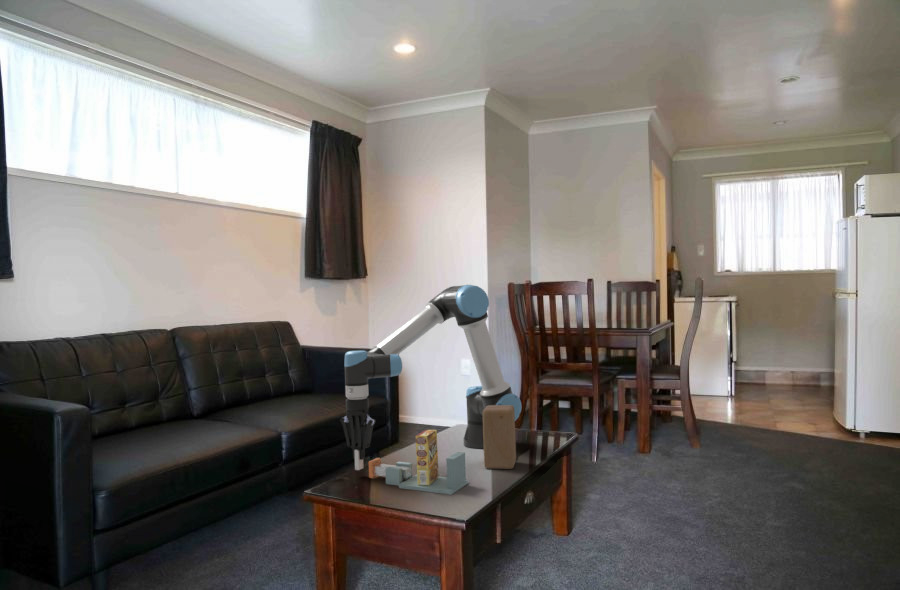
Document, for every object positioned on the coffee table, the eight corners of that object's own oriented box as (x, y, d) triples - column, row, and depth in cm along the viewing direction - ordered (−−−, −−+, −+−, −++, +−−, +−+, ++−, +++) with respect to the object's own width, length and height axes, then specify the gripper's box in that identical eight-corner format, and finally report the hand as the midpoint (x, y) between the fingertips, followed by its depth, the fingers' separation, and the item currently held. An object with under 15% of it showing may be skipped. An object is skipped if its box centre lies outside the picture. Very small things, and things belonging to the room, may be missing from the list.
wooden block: (513, 470, 201) (511, 410, 201) (483, 469, 203) (482, 409, 203) (516, 461, 211) (514, 404, 211) (488, 461, 213) (486, 404, 213)
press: (402, 475, 199) (401, 444, 199) (468, 483, 188) (467, 451, 188) (382, 485, 188) (381, 453, 188) (451, 494, 177) (450, 460, 177)
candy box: (429, 486, 183) (428, 435, 183) (416, 485, 184) (415, 435, 184) (439, 477, 191) (437, 429, 191) (426, 477, 193) (425, 429, 193)
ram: (377, 473, 199) (377, 457, 199) (412, 477, 193) (412, 461, 193) (369, 477, 195) (368, 461, 195) (404, 482, 189) (404, 465, 189)
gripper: (334, 398, 199) (336, 470, 199) (366, 400, 193) (369, 474, 193) (347, 395, 206) (349, 464, 206) (379, 396, 200) (382, 467, 200)
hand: (359, 468), depth 199 cm, fingers closed
